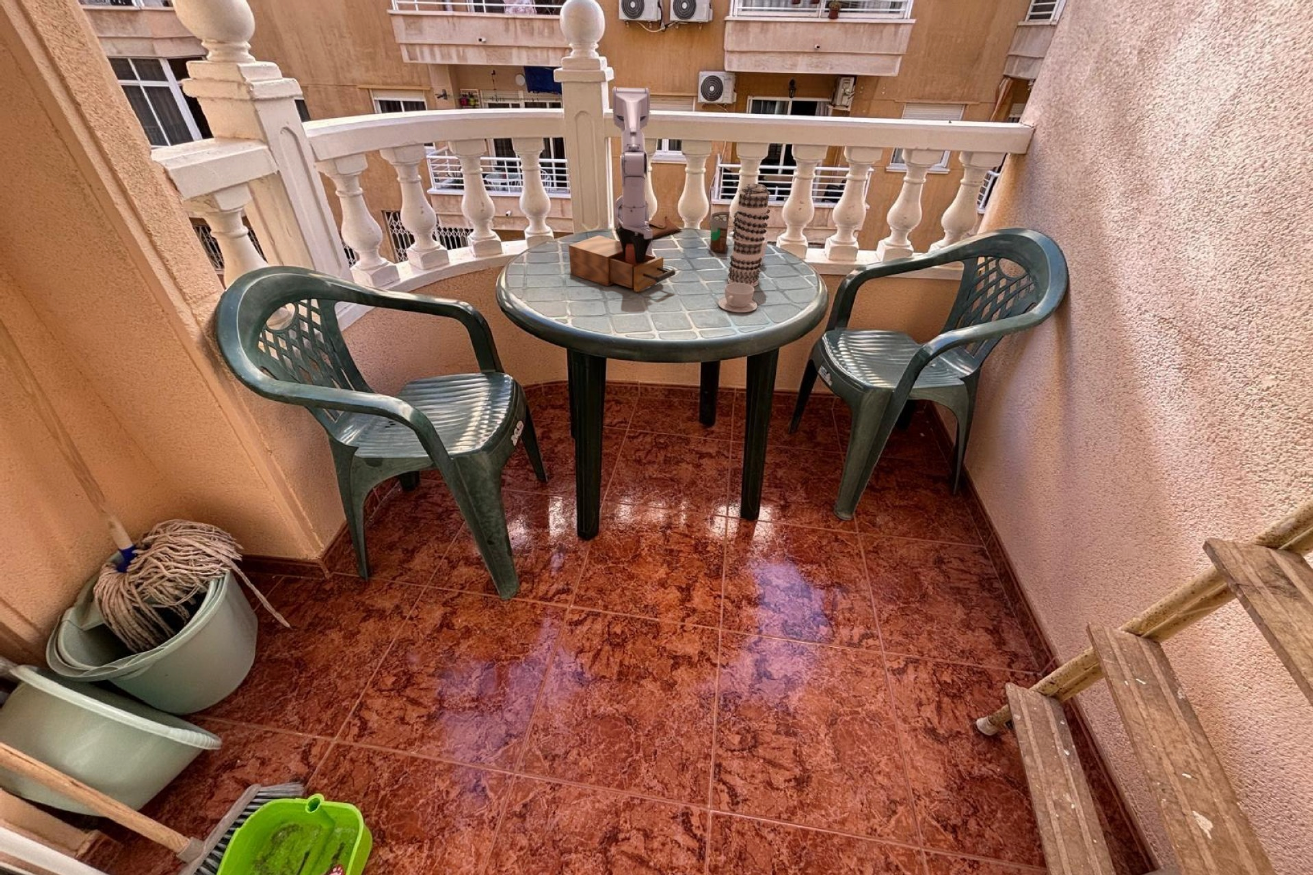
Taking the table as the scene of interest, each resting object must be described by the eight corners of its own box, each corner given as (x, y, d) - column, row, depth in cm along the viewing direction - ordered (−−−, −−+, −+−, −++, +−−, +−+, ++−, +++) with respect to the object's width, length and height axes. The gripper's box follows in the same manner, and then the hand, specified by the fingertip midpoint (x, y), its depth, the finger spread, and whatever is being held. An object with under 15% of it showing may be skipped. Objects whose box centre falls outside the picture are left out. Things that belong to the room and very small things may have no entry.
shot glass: (737, 261, 163) (740, 237, 159) (756, 258, 165) (759, 235, 161) (749, 268, 158) (752, 244, 154) (768, 266, 160) (772, 242, 156)
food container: (707, 241, 178) (710, 210, 172) (726, 242, 177) (729, 211, 171) (705, 253, 168) (708, 220, 162) (725, 254, 167) (728, 221, 161)
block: (626, 261, 144) (626, 243, 142) (641, 262, 144) (641, 244, 141) (625, 266, 141) (625, 248, 138) (640, 267, 141) (640, 249, 138)
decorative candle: (765, 286, 147) (780, 189, 132) (734, 289, 145) (746, 190, 130) (751, 274, 154) (764, 181, 139) (721, 277, 152) (731, 182, 137)
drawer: (679, 285, 144) (680, 262, 140) (654, 297, 137) (654, 273, 133) (626, 269, 153) (625, 246, 149) (600, 279, 146) (599, 256, 142)
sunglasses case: (649, 240, 175) (641, 220, 173) (635, 247, 180) (628, 227, 179) (683, 229, 186) (676, 210, 184) (669, 236, 191) (663, 218, 190)
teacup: (729, 295, 141) (731, 278, 139) (763, 304, 137) (766, 287, 134) (710, 307, 135) (712, 289, 132) (745, 317, 130) (748, 299, 128)
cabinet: (636, 274, 152) (636, 246, 147) (607, 286, 144) (607, 256, 139) (599, 262, 159) (598, 235, 154) (570, 273, 151) (568, 245, 146)
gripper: (663, 210, 131) (661, 264, 139) (632, 197, 140) (632, 249, 148) (639, 213, 128) (638, 269, 136) (609, 200, 137) (610, 253, 145)
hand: (633, 259), depth 142 cm, fingers closed on block, 5 cm apart
